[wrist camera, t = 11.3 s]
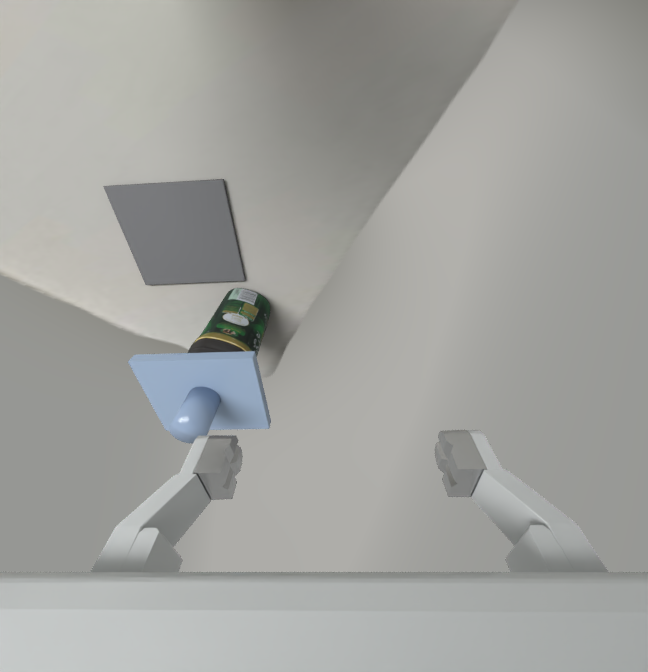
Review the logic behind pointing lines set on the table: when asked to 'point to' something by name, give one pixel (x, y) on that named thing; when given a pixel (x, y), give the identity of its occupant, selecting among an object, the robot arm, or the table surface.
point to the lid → (203, 391)
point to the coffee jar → (235, 324)
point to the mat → (179, 231)
